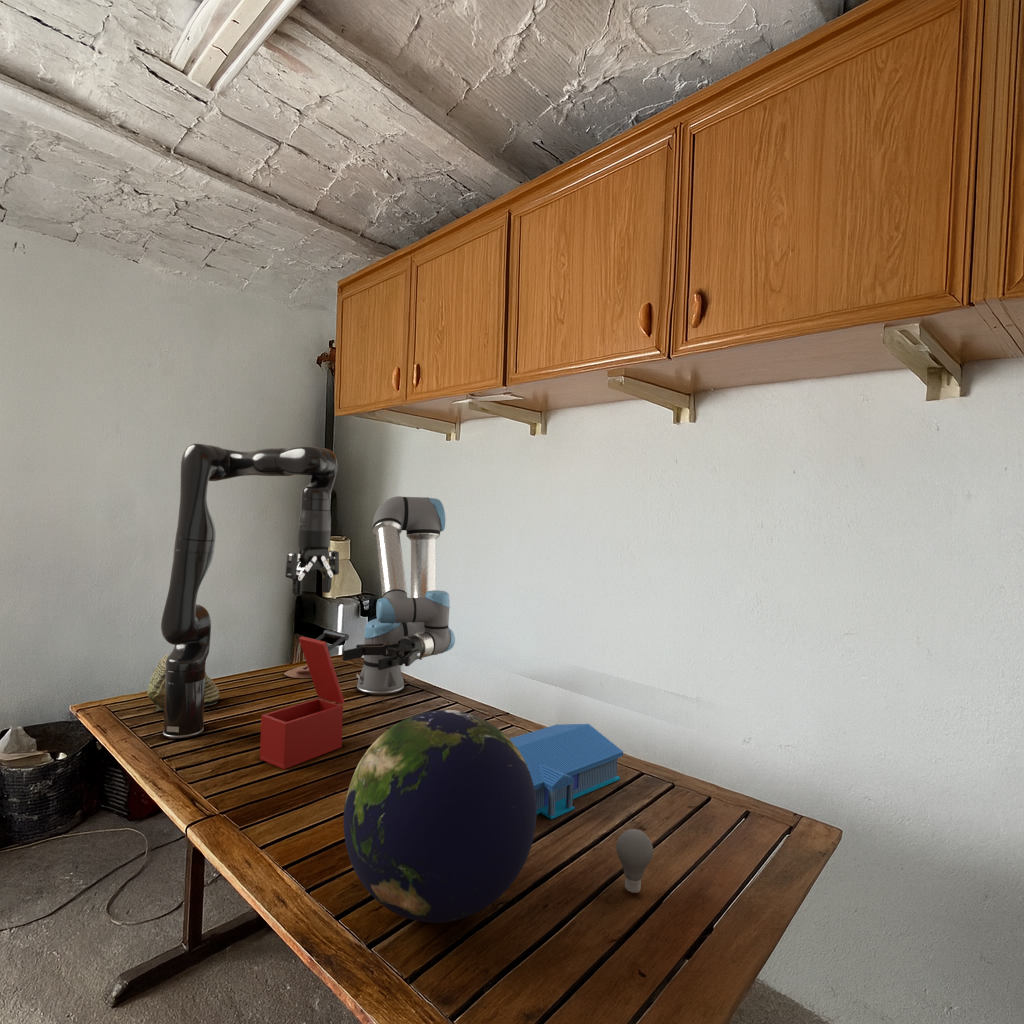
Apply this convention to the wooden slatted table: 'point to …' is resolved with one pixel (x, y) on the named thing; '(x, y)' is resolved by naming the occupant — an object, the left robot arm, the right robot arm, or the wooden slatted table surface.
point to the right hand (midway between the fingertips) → (360, 660)
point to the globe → (440, 816)
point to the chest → (300, 732)
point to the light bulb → (634, 857)
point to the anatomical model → (299, 672)
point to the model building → (567, 764)
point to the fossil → (158, 687)
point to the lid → (323, 665)
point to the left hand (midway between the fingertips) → (312, 594)
